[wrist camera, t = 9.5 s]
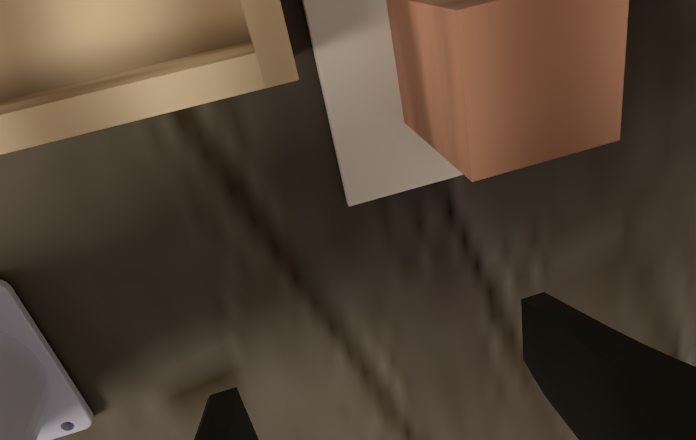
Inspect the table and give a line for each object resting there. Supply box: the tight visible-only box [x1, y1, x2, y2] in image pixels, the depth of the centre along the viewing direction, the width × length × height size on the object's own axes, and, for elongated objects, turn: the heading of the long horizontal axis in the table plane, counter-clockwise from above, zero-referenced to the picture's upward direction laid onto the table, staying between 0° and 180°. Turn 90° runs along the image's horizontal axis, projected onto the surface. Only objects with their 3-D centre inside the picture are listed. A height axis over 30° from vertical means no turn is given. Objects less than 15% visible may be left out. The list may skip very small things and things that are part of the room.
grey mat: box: [302, 0, 463, 206], centre depth 19 cm, size 10×10×1 cm
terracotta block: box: [386, 0, 629, 182], centre depth 16 cm, size 4×4×6 cm
